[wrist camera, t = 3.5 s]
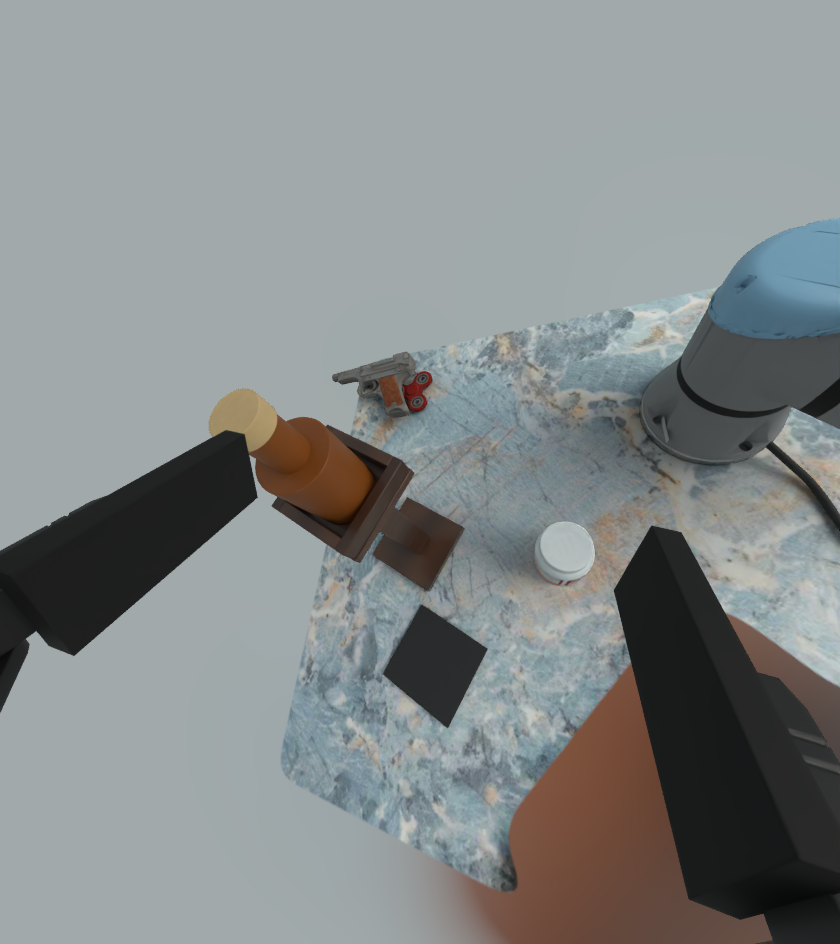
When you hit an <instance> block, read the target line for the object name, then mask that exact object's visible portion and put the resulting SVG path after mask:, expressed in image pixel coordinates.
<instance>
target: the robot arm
mask: <svg viewBox="0 0 840 944" xmlns="http://www.w3.org/2000/svg"><path fill="white" fill-rule="evenodd" d="M791 407H793V408H795V409H797V410H799V411H802V412H804V413H806V414H808V415H810V416H813V417H815V418H817V419H819V420H821V421H823V422H825V423H828V424H830V425H832V426H834V427H836V428H839V429H840V218H837V219H829V220H823V221H817V222H813V223H809V224H807V225H805V226H802V227H797V228H792V229H788V230H786V231H783V232H781V233H778V234H776V235H774V236H772V237H770V238H768V239H766V240H765V241H763V242H761V243H760V244H758V245H756V246H755V247H754V248H752V249H751V250H750V251H748V252H747V253H746V254H745V255H744V256H743V257H742V258H741V259H740V260H739V261H738V262H737V263H736V265H735V266H734V267H733V269H732V270H731V272H730V273H729V275H728V276H727V278H726V279H725V281H724V282H723V284H722V285H721V286H720V287H719V288H718V289H717V290H716V292H715V293H714V294H713V296H712V298H711V301H710V303H709V307H708V309H707V311H706V313H705V314H704V316H703V318H702V320H701V322H700V323H699V325H698V327H697V329H696V331H695V332H694V334H693V336H692V338H691V340H690V342H689V343H688V345H687V347H686V349H685V351H684V353H683V354H682V356H681V357H680V358H679V359H677V360H676V361H675V362H673V363H672V364H671V365H669V366H668V367H667V368H665V369H664V370H663V371H661V372H660V373H659V374H658V375H657V376H656V377H655V378H654V379H653V380H652V382H651V383H650V384H649V386H648V387H647V389H646V391H645V393H644V395H643V397H642V399H641V403H640V419H641V423H642V425H643V428H644V430H645V431H646V433H647V434H648V436H649V437H650V438H651V439H652V441H654V442H655V443H656V444H657V445H658V446H659V447H660V448H662V449H663V450H665V451H666V452H668V453H670V454H671V455H673V456H676V457H678V458H680V459H683V460H686V461H690V462H694V463H699V464H707V465H723V464H730V463H735V462H739V461H742V460H745V459H748V458H750V457H752V456H754V455H756V454H757V453H759V452H760V451H762V450H763V449H764V448H767V449H769V450H770V451H771V452H772V453H773V454H774V455H775V456H776V457H777V458H778V459H780V460H781V461H782V462H783V463H784V464H785V465H786V466H787V467H788V468H789V469H791V470H792V471H793V472H794V473H795V474H796V475H797V476H798V477H800V478H801V479H802V480H803V481H804V483H805V484H806V485H807V486H808V487H809V488H810V489H811V491H812V492H813V493H814V494H815V496H816V497H817V498H818V500H819V501H820V503H821V504H822V506H823V507H824V509H825V510H826V512H827V513H828V515H829V516H830V518H831V519H832V521H833V522H834V524H835V525H836V527H837V528H838V529H839V531H840V514H839V512H838V511H837V509H836V508H835V506H834V505H833V503H832V502H831V500H830V499H829V498H828V496H827V495H826V493H825V492H824V491H823V490H822V488H821V487H820V486H819V485H818V484H817V483H816V481H815V480H814V479H813V478H812V477H811V476H810V475H809V474H808V473H807V472H806V471H805V470H803V469H802V468H801V467H800V466H799V465H798V464H797V463H795V462H794V461H793V460H792V459H791V458H790V457H789V456H788V455H787V454H785V453H784V452H783V451H782V450H781V449H780V448H779V447H778V446H777V445H775V444H774V443H773V441H774V439H775V438H776V437H777V436H778V435H779V433H780V432H781V431H782V429H783V427H784V425H785V422H786V420H787V417H788V415H789V412H790V410H791ZM256 498H258V497H257V492H256V487H255V482H254V477H253V472H252V468H251V462H250V457H249V452H248V447H247V442H246V437H245V434H242V433H238V432H233V431H229V430H225V431H223V432H221V433H219V434H217V435H216V436H214V437H212V438H210V439H208V440H207V441H205V442H203V443H201V444H199V445H198V446H196V447H194V448H192V449H190V450H189V451H187V452H185V453H183V454H182V455H180V456H178V457H176V458H174V459H172V460H171V461H169V462H167V463H165V464H164V465H162V466H160V467H158V468H156V469H155V470H153V471H151V472H149V473H147V474H145V475H144V476H142V477H140V478H139V479H136V480H135V481H133V482H131V483H129V484H127V485H126V486H124V487H122V488H120V489H118V490H117V491H115V492H113V493H111V494H110V495H108V496H105V497H102V498H99V499H96V500H93V501H91V502H89V503H87V504H85V505H83V506H81V507H80V508H78V509H76V510H74V511H72V512H70V513H69V515H68V516H63V517H61V518H59V519H58V520H56V521H54V522H52V523H51V525H50V526H45V527H43V528H41V529H40V530H37V531H36V532H34V533H32V534H30V535H29V536H27V537H25V538H23V539H21V540H19V541H17V542H16V543H14V544H12V545H10V546H8V547H6V548H5V549H3V550H1V551H0V712H1V710H2V708H3V706H4V703H5V701H6V699H7V697H8V695H9V693H10V690H11V688H12V686H13V684H14V682H15V680H16V677H17V675H18V673H19V671H20V669H21V666H22V664H23V662H24V660H25V658H26V656H27V654H28V650H29V643H28V641H27V640H26V638H27V637H29V636H30V635H31V634H33V633H34V632H35V631H37V632H38V633H39V634H40V636H41V637H42V638H43V639H44V641H45V642H46V643H47V644H48V645H49V646H51V647H53V648H55V649H58V650H60V651H63V652H66V653H68V654H71V655H73V656H75V655H76V654H77V653H78V652H79V651H80V650H81V649H83V648H84V647H85V646H86V645H87V644H88V643H90V642H91V641H92V640H93V639H94V638H95V637H96V636H98V635H99V634H100V633H101V632H102V631H103V630H105V628H107V627H108V626H109V625H110V624H112V623H113V622H114V621H115V620H116V619H117V618H118V617H120V616H121V615H122V614H123V613H124V612H126V610H128V609H129V608H130V607H131V606H132V605H134V604H135V603H136V602H137V601H138V600H139V599H141V598H142V597H143V596H144V595H145V594H146V593H147V592H148V591H150V590H151V589H152V588H153V587H154V586H156V585H157V584H158V583H159V582H160V581H161V580H162V579H164V578H165V577H166V576H167V575H168V574H169V573H171V572H172V571H173V570H174V569H175V568H176V567H177V566H179V565H180V564H181V563H182V562H183V561H184V560H186V559H187V558H188V557H189V556H190V555H192V554H193V553H194V552H195V551H196V550H197V549H198V548H200V547H201V546H202V545H203V544H204V543H205V542H207V541H208V540H209V539H210V538H211V537H212V536H213V535H215V534H216V533H217V532H218V531H219V530H220V529H222V528H223V527H224V526H225V525H226V524H227V523H229V521H231V520H232V519H233V518H234V517H236V516H237V515H238V514H239V513H240V512H241V511H242V510H244V509H245V508H246V507H247V506H248V505H249V504H251V503H252V502H253V501H254V500H255V499H256ZM614 593H615V597H616V601H617V605H618V610H619V614H620V618H621V622H622V626H623V630H624V634H625V638H626V643H627V647H628V651H629V655H630V659H631V663H632V667H633V671H634V675H635V680H636V684H637V687H638V692H639V696H640V700H641V704H642V708H643V713H644V717H645V721H646V725H647V729H648V733H649V738H650V742H651V746H652V750H653V754H654V758H655V762H656V766H657V770H658V775H659V779H660V783H661V787H662V791H663V795H664V799H665V804H666V808H667V812H668V816H669V820H670V824H671V828H672V832H673V837H674V841H675V845H676V849H677V853H678V857H679V861H680V865H681V869H682V874H683V877H684V882H685V886H686V890H687V894H688V898H689V900H692V901H694V902H697V903H699V904H702V905H705V906H707V907H710V908H712V909H715V910H717V911H720V912H722V913H725V914H727V915H730V916H732V917H735V918H737V919H740V920H741V919H745V918H748V917H752V916H756V915H760V914H763V913H764V916H765V919H766V922H767V925H768V927H769V930H770V933H771V936H772V939H773V940H772V941H767V942H762V943H757V944H840V763H839V761H838V759H837V758H836V756H835V754H834V753H833V751H832V749H831V748H829V747H827V746H826V739H825V738H824V736H823V735H822V733H821V732H820V730H819V728H818V726H817V725H816V723H815V721H814V720H813V718H812V716H811V715H810V713H809V712H808V710H807V709H806V708H805V706H804V705H803V704H802V703H801V702H800V701H799V700H798V699H797V698H796V697H795V695H794V694H793V693H792V692H791V691H790V690H789V689H788V688H787V687H786V686H785V685H784V684H783V683H782V682H781V680H780V679H779V678H776V677H772V676H768V675H765V674H761V673H758V672H757V671H756V669H755V667H754V666H753V664H752V662H751V660H750V658H749V656H748V654H747V653H746V651H745V649H744V647H743V645H742V643H741V642H740V640H739V638H738V636H737V634H736V632H735V630H734V629H733V627H732V625H731V623H730V621H729V619H728V618H727V616H726V614H725V612H724V610H723V608H722V606H721V605H720V603H719V601H718V599H717V597H716V595H715V594H714V592H713V590H712V588H711V586H710V584H709V582H708V581H707V579H706V577H705V575H704V573H703V571H702V569H701V568H700V566H699V564H698V562H697V560H696V558H695V557H694V555H693V553H692V551H691V549H690V547H689V545H688V544H687V542H686V540H685V538H684V536H683V534H682V533H681V532H678V531H673V530H669V529H665V528H660V527H656V526H651V527H650V529H649V531H648V532H647V534H646V536H645V538H644V539H643V541H642V543H641V544H640V546H639V548H638V550H637V551H636V553H635V555H634V556H633V558H632V560H631V562H630V563H629V565H628V567H627V568H626V570H625V572H624V574H623V575H622V577H621V579H620V580H619V582H618V584H617V586H616V587H615V589H614Z"/></svg>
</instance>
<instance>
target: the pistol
mask: <svg viewBox="0 0 840 944" xmlns="http://www.w3.org/2000/svg"><path fill="white" fill-rule="evenodd" d="M414 369H415V361H414V359H413V358H412V357H411V355H410V354H409V353H407V352H403V353H399V354H396V355H393V358H389V359H386V360H382V361H378V362H375V363H371V364H368V365H364V366H361V367H359V368H355V369H352V370H348V371H344V372H341V373H337V374H334V375H333V376H332V378H333V381H334V382H339V383H340V384H342V385H343V384H348V383H352V382H359V387H358V390H357V391H358V394H359V395H360V396H361V397H362V398H371V397H376V396H379V397H381V398H382V399H383V400H384V404H385V413H386V414H387V415H388V416H389V417H395V418H396V417H402V416H406V415H409V409H408V407H407V405H406V402H405V399H404V396H403V392H402V385H403V382H404V381H405V380H406V379H407V378H408V377H410V376H414V375H417V373H416V372H415V370H414ZM413 371H414V373H415V374H413ZM377 384H379V387H378V388H377V389H376V387H377ZM371 385H374V386H373V389H372V390H371V392H369V393H368V394H363V395H362V391H363V389H364V388H365V387H366V386H371ZM375 389H376V390H375Z"/></svg>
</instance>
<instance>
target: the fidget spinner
mask: <svg viewBox="0 0 840 944" xmlns="http://www.w3.org/2000/svg"><path fill="white" fill-rule="evenodd" d="M422 379H424V380H423V381H422ZM431 382H432V376H431V374H430V373H429V372H426V371H424V372H420V373H419V374H417V375H416V377H415V379H414V381H413V383H412V384H410V385H404V384H403V385H402V392H403V396H404V399H405V398H406V399H409V407H410V409H411V410H412V411H414V412H419V411H421V410H423V409H424V408H425V407H426V405H427V400H426V398H425V396H423V395H422V391H423V389H424V388H426V387H427V386H429V385H430V383H431ZM417 402H419V403H418V404H416V403H417Z"/></svg>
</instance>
